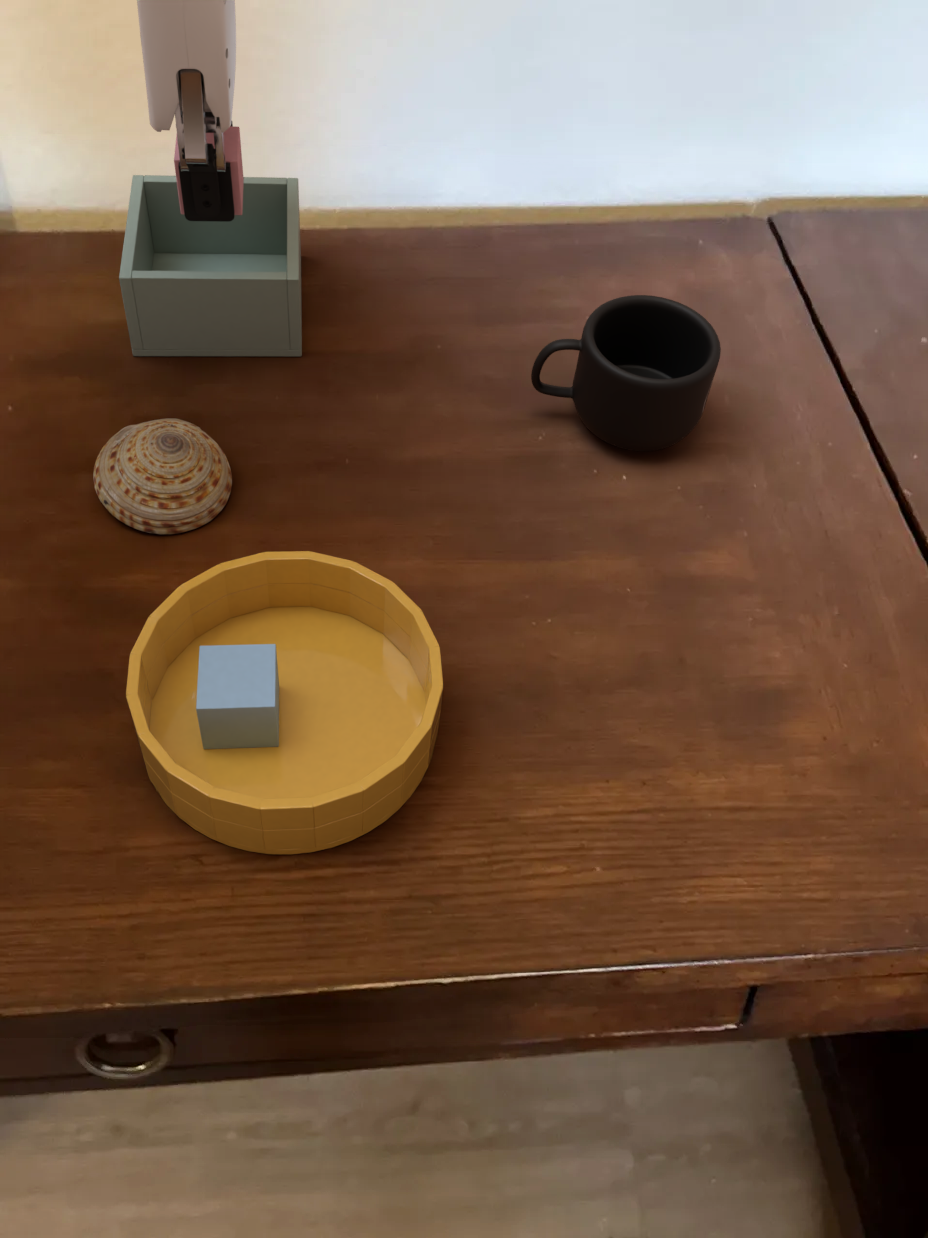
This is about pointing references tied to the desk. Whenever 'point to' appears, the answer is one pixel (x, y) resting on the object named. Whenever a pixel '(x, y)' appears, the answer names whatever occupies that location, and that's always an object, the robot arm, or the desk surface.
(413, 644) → the bowl
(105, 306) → the desk surface
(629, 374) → the mug
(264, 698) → the toy blue
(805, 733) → the desk surface
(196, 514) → the seashell
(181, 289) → the bin
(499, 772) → the desk surface
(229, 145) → the toy pink
